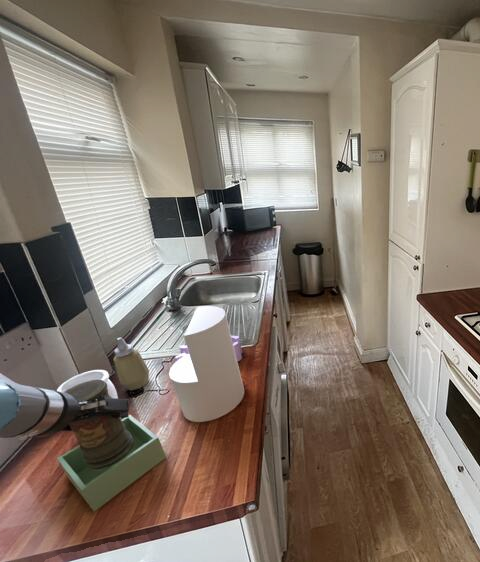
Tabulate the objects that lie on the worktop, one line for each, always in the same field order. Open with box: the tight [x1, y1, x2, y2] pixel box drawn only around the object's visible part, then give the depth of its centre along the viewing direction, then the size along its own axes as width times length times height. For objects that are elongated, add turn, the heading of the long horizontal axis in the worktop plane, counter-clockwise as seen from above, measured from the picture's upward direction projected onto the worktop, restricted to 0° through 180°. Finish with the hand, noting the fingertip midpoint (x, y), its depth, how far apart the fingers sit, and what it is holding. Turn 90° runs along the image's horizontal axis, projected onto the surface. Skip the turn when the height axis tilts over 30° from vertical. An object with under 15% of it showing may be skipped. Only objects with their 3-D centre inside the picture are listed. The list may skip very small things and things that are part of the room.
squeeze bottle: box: [113, 337, 150, 391], centre depth 99 cm, size 8×8×18 cm
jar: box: [56, 369, 122, 420], centre depth 84 cm, size 11×10×15 cm
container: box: [64, 380, 134, 469], centre depth 69 cm, size 9×9×18 cm
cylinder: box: [168, 305, 245, 423], centre depth 89 cm, size 17×17×28 cm
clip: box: [174, 335, 244, 363], centre depth 111 cm, size 20×12×7 cm, turn 110°
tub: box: [56, 414, 167, 512], centre depth 73 cm, size 15×15×7 cm
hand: (104, 417), depth 72 cm, fingers closed on container, 8 cm apart
